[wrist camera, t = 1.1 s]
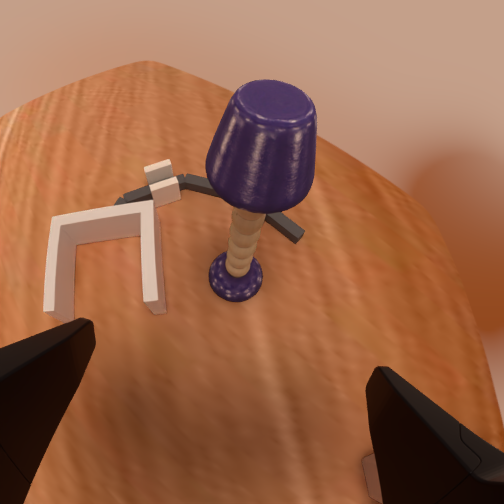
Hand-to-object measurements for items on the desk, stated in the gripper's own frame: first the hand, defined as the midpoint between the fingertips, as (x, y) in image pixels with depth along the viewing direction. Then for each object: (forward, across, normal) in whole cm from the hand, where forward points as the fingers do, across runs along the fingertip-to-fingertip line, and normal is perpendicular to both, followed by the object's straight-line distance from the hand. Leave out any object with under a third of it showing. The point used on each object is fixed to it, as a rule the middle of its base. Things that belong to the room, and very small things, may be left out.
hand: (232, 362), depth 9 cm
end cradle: (+14, +11, +6) cm, 18 cm away
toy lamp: (+15, 0, +4) cm, 16 cm away
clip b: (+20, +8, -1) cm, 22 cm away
